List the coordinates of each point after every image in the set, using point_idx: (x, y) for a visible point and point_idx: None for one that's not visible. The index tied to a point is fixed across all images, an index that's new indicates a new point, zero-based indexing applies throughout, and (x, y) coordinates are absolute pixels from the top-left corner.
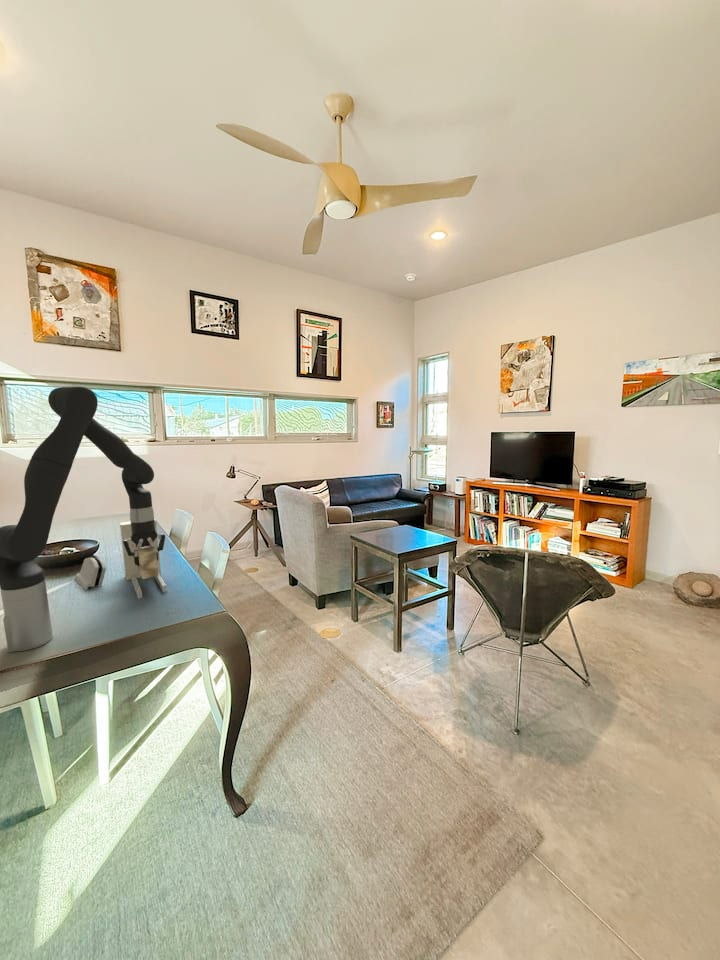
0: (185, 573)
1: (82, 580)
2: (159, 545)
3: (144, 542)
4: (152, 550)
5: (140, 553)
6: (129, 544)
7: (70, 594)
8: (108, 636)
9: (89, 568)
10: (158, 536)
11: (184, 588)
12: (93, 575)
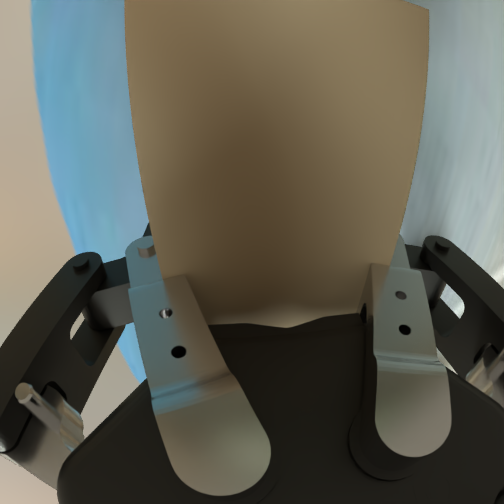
0: (79, 228)
1: None
2: (103, 337)
3: (315, 385)
4: (183, 117)
5: (416, 72)
6: (489, 355)
7: (466, 250)
8: None
9: None
10: (55, 449)
11: (87, 29)
12: None
